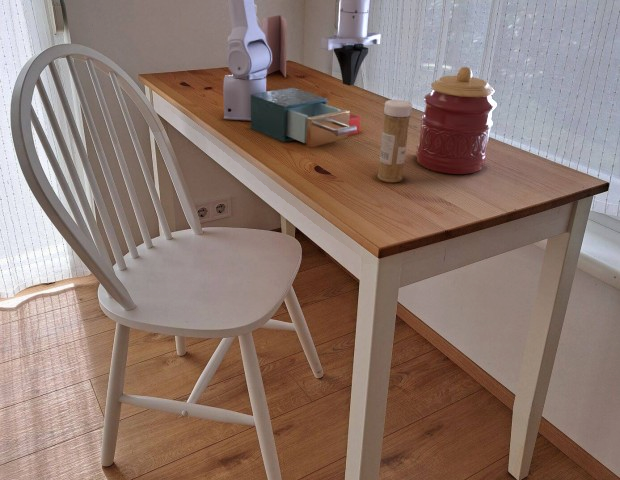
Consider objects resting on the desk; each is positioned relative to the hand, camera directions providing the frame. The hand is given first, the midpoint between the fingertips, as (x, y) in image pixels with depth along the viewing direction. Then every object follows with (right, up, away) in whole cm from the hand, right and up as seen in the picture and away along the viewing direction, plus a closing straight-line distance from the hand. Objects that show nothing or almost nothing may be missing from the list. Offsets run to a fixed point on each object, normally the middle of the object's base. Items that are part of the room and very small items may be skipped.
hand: (348, 84), depth 121 cm
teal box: (-13, -8, +6) cm, 16 cm away
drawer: (-6, -11, -1) cm, 13 cm away
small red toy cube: (0, -8, +7) cm, 11 cm away
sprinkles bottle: (+6, -23, -15) cm, 28 cm away
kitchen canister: (+19, -18, -7) cm, 27 cm away
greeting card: (-17, +22, +53) cm, 60 cm away
